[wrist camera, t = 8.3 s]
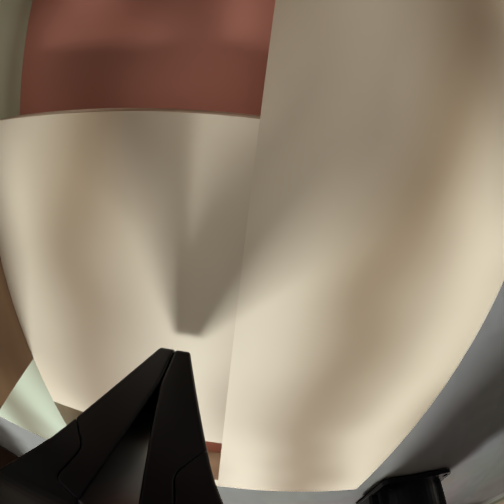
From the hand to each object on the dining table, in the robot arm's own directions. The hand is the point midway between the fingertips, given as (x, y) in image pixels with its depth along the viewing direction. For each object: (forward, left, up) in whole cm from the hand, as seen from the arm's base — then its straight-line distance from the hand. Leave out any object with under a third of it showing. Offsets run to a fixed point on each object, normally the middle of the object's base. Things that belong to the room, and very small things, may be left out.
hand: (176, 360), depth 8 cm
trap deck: (+3, 0, -3) cm, 4 cm away
